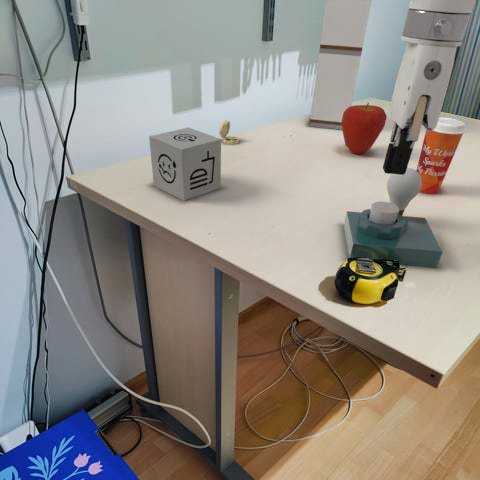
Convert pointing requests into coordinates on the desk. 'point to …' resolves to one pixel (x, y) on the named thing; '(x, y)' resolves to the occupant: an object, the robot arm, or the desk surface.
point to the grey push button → (383, 213)
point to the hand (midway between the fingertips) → (393, 171)
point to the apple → (362, 126)
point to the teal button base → (392, 239)
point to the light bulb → (403, 188)
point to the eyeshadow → (224, 131)
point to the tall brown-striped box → (338, 60)
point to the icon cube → (186, 162)
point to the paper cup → (438, 153)
